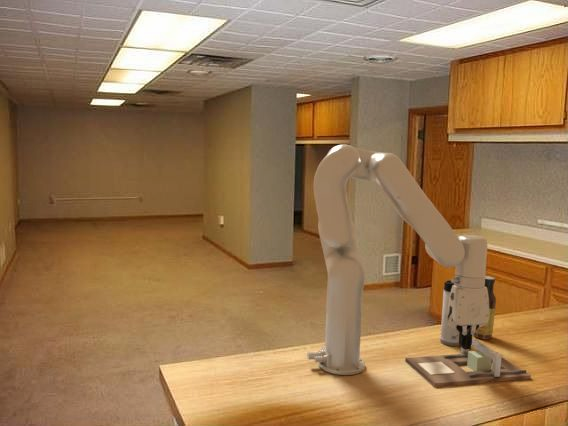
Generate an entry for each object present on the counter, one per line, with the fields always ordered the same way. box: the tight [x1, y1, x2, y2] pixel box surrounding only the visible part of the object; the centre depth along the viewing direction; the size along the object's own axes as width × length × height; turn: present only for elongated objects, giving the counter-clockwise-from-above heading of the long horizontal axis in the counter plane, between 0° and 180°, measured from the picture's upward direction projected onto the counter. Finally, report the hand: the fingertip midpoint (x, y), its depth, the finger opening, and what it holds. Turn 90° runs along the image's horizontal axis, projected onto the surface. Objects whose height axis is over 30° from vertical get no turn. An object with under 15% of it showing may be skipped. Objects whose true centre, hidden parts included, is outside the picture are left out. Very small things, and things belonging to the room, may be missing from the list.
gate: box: [460, 336, 503, 377], centre depth 139 cm, size 2×16×6 cm, turn 13°
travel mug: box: [439, 279, 459, 347], centre depth 158 cm, size 6×7×20 cm
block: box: [466, 350, 492, 371], centre depth 140 cm, size 4×4×4 cm
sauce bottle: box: [472, 275, 497, 340], centre depth 164 cm, size 7×6×20 cm
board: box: [404, 351, 532, 388], centre depth 139 cm, size 28×16×2 cm, turn 103°
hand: (464, 347), depth 138 cm, fingers closed
